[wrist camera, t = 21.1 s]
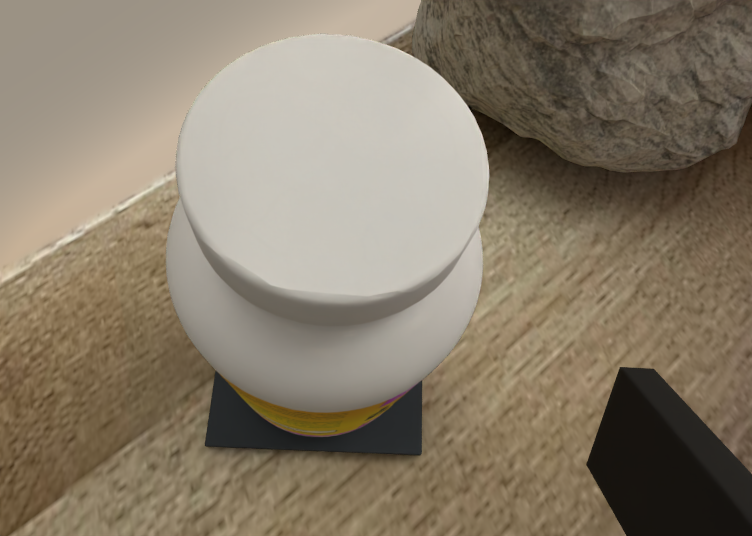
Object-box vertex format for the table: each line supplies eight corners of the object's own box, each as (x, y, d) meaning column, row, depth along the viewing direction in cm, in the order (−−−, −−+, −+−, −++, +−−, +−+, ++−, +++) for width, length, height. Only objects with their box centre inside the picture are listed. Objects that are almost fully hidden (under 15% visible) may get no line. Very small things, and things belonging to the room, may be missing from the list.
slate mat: (206, 446, 18) (204, 446, 18) (235, 248, 21) (233, 244, 21) (419, 455, 19) (421, 455, 19) (420, 261, 22) (422, 258, 21)
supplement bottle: (364, 471, 18) (459, 481, 6) (196, 387, 18) (-18, 245, 7) (436, 307, 21) (603, 87, 9) (287, 236, 21) (250, -69, 9)
